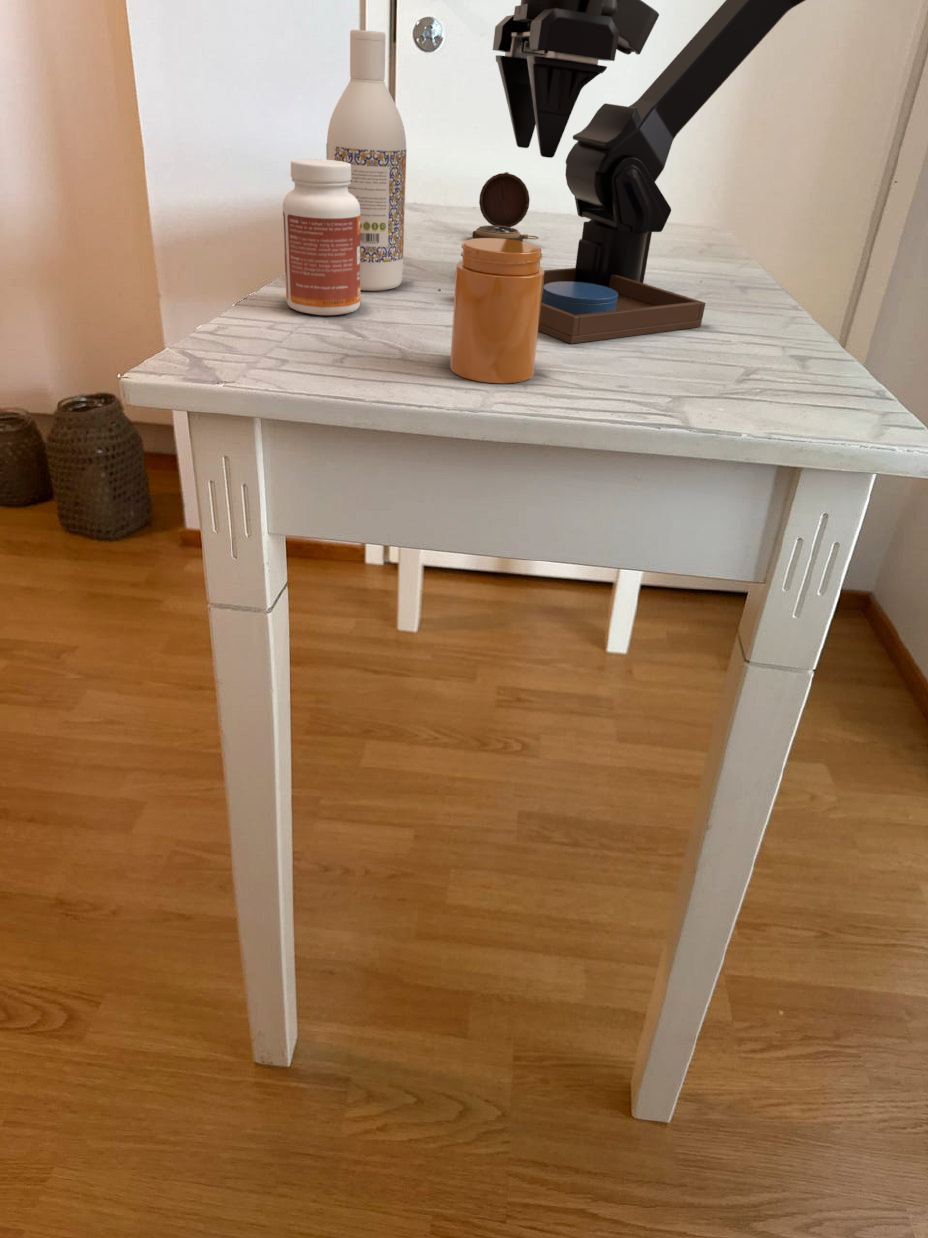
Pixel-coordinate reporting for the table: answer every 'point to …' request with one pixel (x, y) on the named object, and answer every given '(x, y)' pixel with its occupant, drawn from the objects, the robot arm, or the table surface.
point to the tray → (621, 312)
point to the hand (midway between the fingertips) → (534, 151)
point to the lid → (579, 297)
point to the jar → (496, 310)
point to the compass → (503, 207)
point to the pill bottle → (322, 239)
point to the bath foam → (372, 160)
